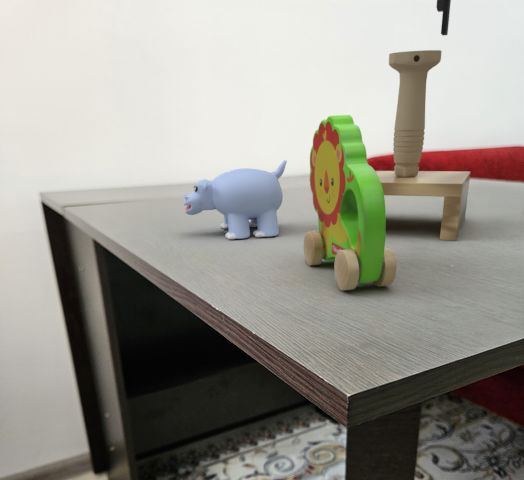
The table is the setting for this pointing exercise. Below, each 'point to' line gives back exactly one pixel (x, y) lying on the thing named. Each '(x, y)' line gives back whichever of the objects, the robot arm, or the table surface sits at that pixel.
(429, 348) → the table surface
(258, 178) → the hippopotamus toy
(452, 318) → the table surface
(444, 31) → the robot arm
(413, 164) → the handle
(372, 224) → the toy lion
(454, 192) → the shelf stand
